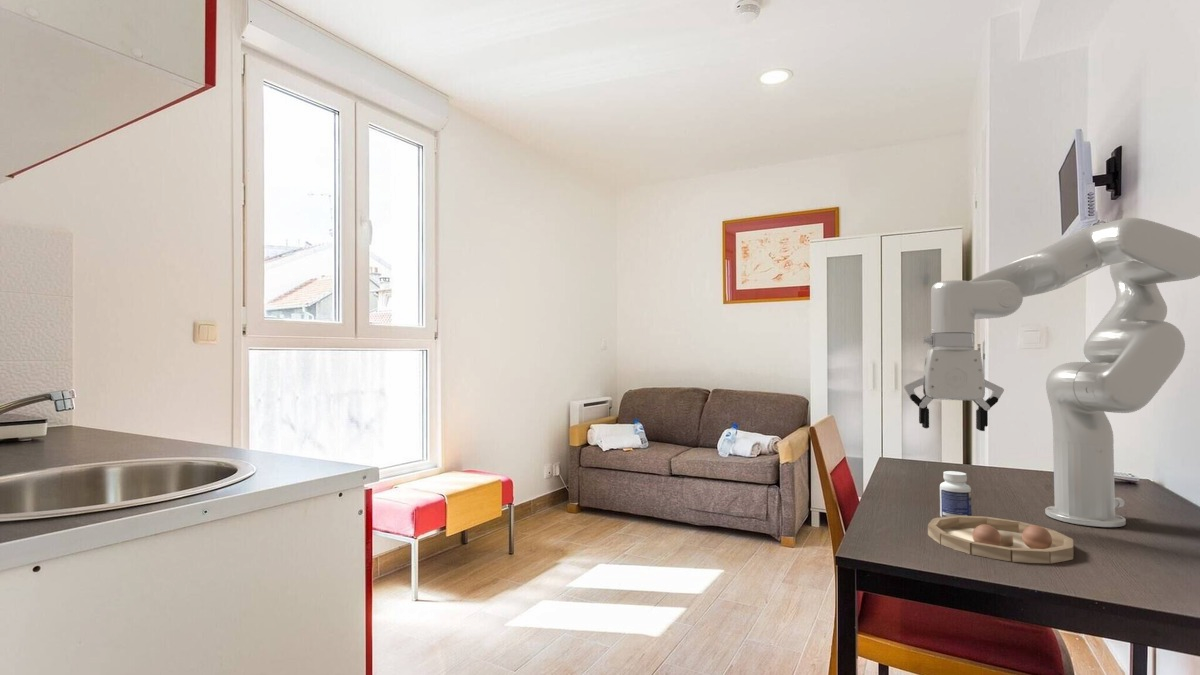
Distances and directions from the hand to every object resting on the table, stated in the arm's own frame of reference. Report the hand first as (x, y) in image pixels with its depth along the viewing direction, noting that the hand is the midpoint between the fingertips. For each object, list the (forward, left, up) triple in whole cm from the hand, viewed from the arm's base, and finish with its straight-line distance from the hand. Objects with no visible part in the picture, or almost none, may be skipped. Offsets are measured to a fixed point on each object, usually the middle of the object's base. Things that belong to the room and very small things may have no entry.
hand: (952, 428), depth 119 cm
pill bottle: (0, 0, -19) cm, 19 cm away
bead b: (+6, +19, -17) cm, 27 cm away
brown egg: (+13, +16, -17) cm, 27 cm away
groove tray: (+8, +14, -18) cm, 24 cm away
